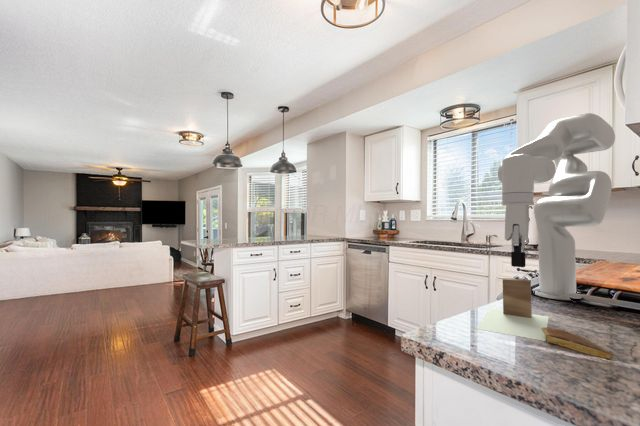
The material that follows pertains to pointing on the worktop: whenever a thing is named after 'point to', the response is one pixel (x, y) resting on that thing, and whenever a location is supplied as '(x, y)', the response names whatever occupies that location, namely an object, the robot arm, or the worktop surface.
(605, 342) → the worktop surface
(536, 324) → the sage mat
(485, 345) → the worktop surface
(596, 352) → the shard
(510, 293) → the walnut slab
